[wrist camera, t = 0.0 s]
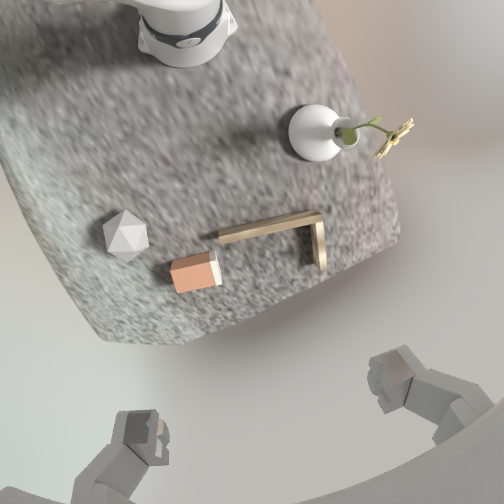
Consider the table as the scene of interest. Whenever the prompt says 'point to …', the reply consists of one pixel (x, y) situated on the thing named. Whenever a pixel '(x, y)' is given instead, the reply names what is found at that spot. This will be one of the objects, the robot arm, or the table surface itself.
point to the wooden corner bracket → (282, 224)
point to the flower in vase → (332, 133)
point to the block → (196, 272)
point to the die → (125, 236)
